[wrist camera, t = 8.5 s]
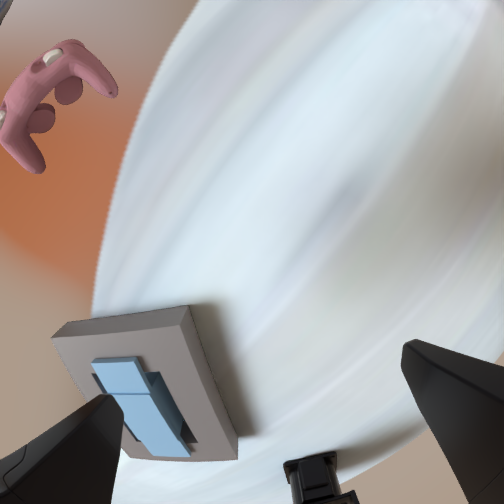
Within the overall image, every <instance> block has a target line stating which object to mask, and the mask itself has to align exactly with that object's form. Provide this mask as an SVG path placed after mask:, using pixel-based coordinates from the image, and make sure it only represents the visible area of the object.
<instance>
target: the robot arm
mask: <svg viewBox="0 0 504 504" xmlns="http://www.w3.org/2000/svg"><path fill="white" fill-rule="evenodd" d="M401 369H402V372H403V374H404V376H405V379H406V381H407V383H408V385H409V387H410V390H411V392H412V394H413V397H414V399H415V401H416V403H417V406H418V408H419V410H420V411H421V413H422V415H423V417H424V418H425V420H426V422H427V424H428V425H429V427H430V429H431V431H432V432H433V434H434V436H435V438H436V440H437V441H438V443H439V445H440V447H441V449H442V451H443V452H444V454H445V456H446V458H447V460H448V462H449V464H450V466H451V468H452V470H453V472H454V474H455V476H456V478H457V480H458V482H459V484H460V486H461V488H462V490H463V492H464V494H465V496H466V499H467V501H468V502H469V504H504V367H503V366H500V365H496V364H493V363H490V362H486V361H483V360H480V359H477V358H473V357H470V356H467V355H464V354H461V353H458V352H455V351H451V350H448V349H445V348H442V347H439V346H436V345H433V344H430V343H427V342H424V341H421V340H418V339H414V340H411V341H408V342H406V343H405V344H404V345H403V350H402V358H401ZM123 424H124V412H123V410H122V409H121V407H120V406H119V404H118V403H117V401H116V400H115V398H114V397H113V396H112V395H111V394H99V395H97V396H96V397H95V398H93V399H92V400H90V401H89V402H88V403H86V404H85V405H83V406H82V407H80V408H79V409H78V410H76V411H75V412H73V413H72V414H70V415H69V416H67V417H66V418H65V419H63V420H62V421H60V422H59V423H57V424H56V425H55V426H53V427H51V428H50V429H48V430H47V431H45V432H44V433H43V434H41V435H40V436H38V437H37V438H35V439H34V440H32V441H30V442H29V443H28V444H26V445H24V446H23V447H21V448H20V449H18V450H17V451H15V452H13V453H12V454H10V455H8V456H7V457H5V458H3V459H1V460H0V504H111V500H112V494H113V488H114V482H115V477H116V472H117V467H118V462H119V457H120V450H121V441H122V432H123ZM283 468H284V471H285V474H286V478H287V481H288V484H290V485H291V491H292V498H293V504H360V503H359V501H358V498H357V496H356V493H355V491H354V490H352V491H350V492H347V493H344V494H342V492H341V489H340V485H339V482H338V478H337V475H336V468H337V453H336V452H331V453H327V454H324V455H319V456H315V457H311V458H306V459H301V460H296V461H291V462H286V463H284V464H283Z"/></svg>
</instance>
